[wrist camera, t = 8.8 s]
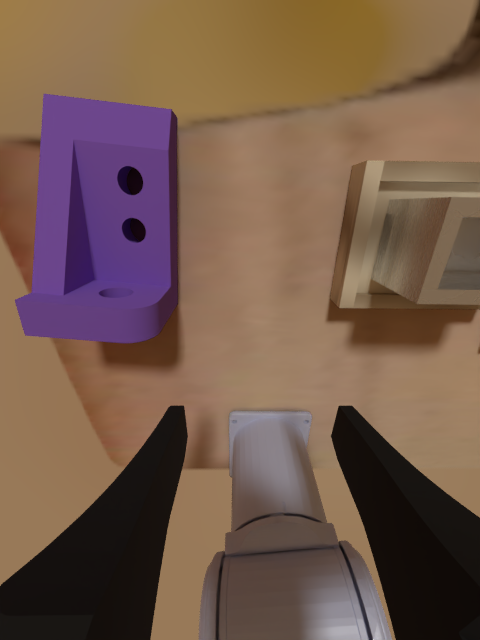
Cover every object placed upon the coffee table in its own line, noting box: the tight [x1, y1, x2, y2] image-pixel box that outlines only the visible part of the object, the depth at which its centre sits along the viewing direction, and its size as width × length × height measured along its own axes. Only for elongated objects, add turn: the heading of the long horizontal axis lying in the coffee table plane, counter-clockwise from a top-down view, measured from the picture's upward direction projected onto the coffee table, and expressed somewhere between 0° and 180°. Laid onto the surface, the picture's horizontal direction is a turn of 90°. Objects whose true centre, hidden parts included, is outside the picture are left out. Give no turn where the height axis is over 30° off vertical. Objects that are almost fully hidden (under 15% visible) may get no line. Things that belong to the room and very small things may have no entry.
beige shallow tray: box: [330, 161, 480, 309], centre depth 17 cm, size 9×12×2 cm
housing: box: [371, 197, 480, 305], centre depth 14 cm, size 5×8×5 cm, turn 89°
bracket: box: [15, 94, 178, 343], centre depth 15 cm, size 12×7×7 cm, turn 174°
